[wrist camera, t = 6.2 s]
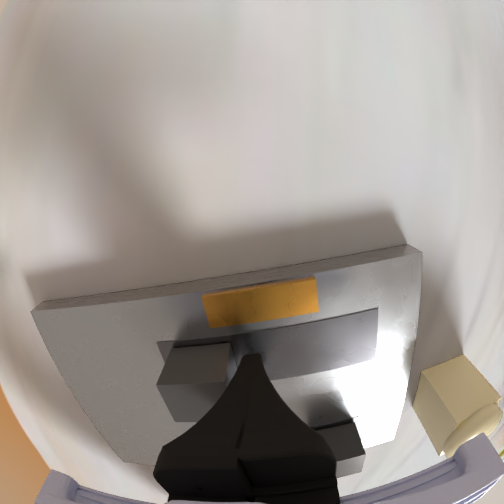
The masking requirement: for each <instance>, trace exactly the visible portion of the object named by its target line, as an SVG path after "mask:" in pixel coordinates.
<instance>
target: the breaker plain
mask: <svg viewBox="0 0 504 504" xmlns="http://www.w3.org/2000/svg"><path fill="white" fill-rule="evenodd" d="M316 432H318V433H319V434H321V435H322V436H323V438H324V439H325V440H326V442H327V443H328V445H329V446H330V448H331V450H332V451H333V453H334V455H335V458H336V461H337V468H336V478H339V477H343V476H347V475H351V474H355V473H359V472H361V471H362V468H363V463H364V459H365V455H366V454H365V451H364V448H363V445H362V442H361V439H360V436H359V433H358V430H357V427H356V424H355V422H353V423H349V424H345V425H340V426H336V427H332V428H327V429H322V430H317V431H316Z"/></svg>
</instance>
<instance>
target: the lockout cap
mask: <svg viewBox="0 0 504 504" xmlns="http://www.w3.org/2000/svg"><path fill="white" fill-rule="evenodd" d="M501 398H502V397H501V396H500V395H499V394H498V392H497V391H496V390H495V389H494V388H493V387H492V385H491V384H490V383H489V382H488V381H487V380H486V379H485V377H484V376H483V375H482V374H481V373H480V372H479V371H478V370H477V368H476V367H475V366H474V365H473V364H472V363H471V362H470V361H469V360H468V359H467V358H466V356H465V355H464V354H462V355H460V356H458V357H456V358H453V359H451V360H448V361H446V362H444V363H441V364H439V365H436V366H433V367H431V368H428V369H426V370H423V371H421V376H420V380H419V384H418V388H417V392H416V396H415V400H414V403H413V409H414V411H415V413H416V414H417V416H418V418H419V420H420V422H421V423H422V425H423V427H424V429H425V431H426V433H427V434H428V436H429V438H430V440H431V442H432V444H433V446H434V448H435V450H436V452H437V453H438V455H439V456H441V455H443V454H445V456H446V457H447V459H448V458H450V457H452V456H453V455H454V453H455V451H456V450H457V448H458V447H459V446H461V445H462V444H463V443H465V442H467V441H468V440H470V439H472V438H474V437H475V436H477V435H479V434H480V433H482V432H484V433H485V435H486V436H487V437H488V436H489V435H490V434H491V433H492V431H493V430H494V429H495V428H496V426H497V425H498V423H499V422H500V420H501V418H502V415H503V412H502V410H501V409H500V408H499V407H498V404H499V402H500V400H501Z"/></svg>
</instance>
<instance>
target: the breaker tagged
mask: <svg viewBox="0 0 504 504" xmlns="http://www.w3.org/2000/svg"><path fill="white" fill-rule="evenodd" d="M236 370H237V366H236V362H235V358H234V355H233V351H232V347H231V343H223V344H214V345H205V346H194V347H183V348H171V350H170V353H169V355H168V357H167V360H166V362H165V364H164V367H163V369H162V372H161V374H160V376H159V379H158V381H157V384H156V386H157V388H158V390H159V392H160V394H161V396H162V398H163V400H164V402H165V404H166V406H167V408H168V410H169V412H170V414H171V415H172V417H173V419H174V421H175V422H198V421H199V420H200V419H201V418H202V417H203V416H204V415H205V414H206V413H207V412H208V411H209V410H210V409H211V408H212V407H213V405H214V404H215V403H216V402H217V400H218V399H219V398H220V396H221V395H222V394H223V392H224V391H225V389H226V388H227V386H228V384H229V383H230V381H231V379H232V378H233V376H234V374H235V372H236Z"/></svg>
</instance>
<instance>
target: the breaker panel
mask: <svg viewBox="0 0 504 504" xmlns="http://www.w3.org/2000/svg"><path fill="white" fill-rule="evenodd" d="M421 279H422V252H421V251H419V250H418V249H416V248H414V247H412V246H410V245H409V244H406V245H401V246H396V247H391V248H385V249H380V250H375V251H369V252H364V253H358V254H353V255H347V256H342V257H336V258H331V259H325V260H319V261H313V262H308V263H302V264H296V265H290V266H284V267H278V268H272V269H266V270H260V271H254V272H248V273H242V274H236V275H229V276H223V277H217V278H210V279H204V280H197V281H191V282H184V283H177V284H170V285H164V286H157V287H150V288H143V289H136V290H128V291H121V292H114V293H106V294H99V295H91V296H84V297H76V298H68V299H60V300H52V301H43V302H42V303H41V304H39V305H38V306H37V307H35V308H34V309H33V310H32V311H30V312H31V314H32V316H33V319H34V321H35V323H36V326H37V328H38V330H39V332H40V334H41V336H42V339H43V341H44V343H45V345H46V347H47V349H48V351H49V353H50V355H51V357H52V358H53V360H54V362H55V364H56V366H57V368H58V369H59V371H60V373H61V375H62V376H63V378H64V380H65V382H66V383H67V385H68V387H69V388H70V390H71V391H72V393H73V395H74V396H75V398H76V399H77V401H78V402H79V404H80V405H81V407H82V408H83V410H84V411H85V413H86V414H87V416H88V417H89V418H90V420H91V421H92V423H93V424H94V425H95V427H96V428H97V429H98V431H99V432H100V433H101V435H102V436H103V437H104V439H105V440H106V441H107V442H108V444H109V445H110V446H111V447H112V449H113V450H114V451H115V452H116V453H117V454H118V456H119V457H120V458H121V459H122V460H123V461H124V462H131V463H137V464H145V465H153V466H155V465H156V461H157V458H158V456H159V453H160V451H161V449H162V446H164V445H166V444H167V443H169V442H171V441H172V440H174V439H176V438H177V437H179V436H180V435H182V434H183V433H185V432H186V431H187V430H188V429H190V428H191V427H192V426H193V425H195V424H196V423H197V422H175V421H174V419H173V417H172V415H171V414H170V412H169V410H168V408H167V406H166V404H165V402H164V400H163V398H162V396H161V394H160V392H159V390H158V388H157V386H156V384H157V381H158V379H159V376H160V374H161V372H162V369H163V367H164V364H165V362H166V360H167V357H168V355H169V353H170V350H171V348H183V347H194V346H205V345H214V344H223V343H231V347H232V351H233V355H234V358H235V362H236V366H237V368H238V366H239V364H240V362H241V359H242V357H243V356H244V355H246V354H254V353H260V354H261V355H262V359H263V364H264V368H265V371H266V373H267V375H268V377H269V379H270V381H271V383H272V385H273V386H274V388H275V389H276V391H277V393H278V394H279V395H280V397H281V398H282V399H283V401H284V402H285V403H286V404H287V406H288V407H289V408H290V409H291V410H292V411H293V412H294V413H295V414H296V415H297V416H298V417H299V418H300V419H301V420H302V421H303V422H305V423H306V424H307V425H308V426H309V427H311V428H312V429H313V430H315V431H317V430H322V429H327V428H332V427H336V426H340V425H345V424H349V423H353V422H355V424H356V427H357V430H358V433H359V436H360V439H361V442H362V445H363V448H367V447H370V446H374V445H377V444H380V443H383V442H386V441H390V440H392V439H394V435H395V432H396V429H397V425H398V422H399V418H400V414H401V411H402V407H403V403H404V399H405V394H406V390H407V385H408V381H409V376H410V371H411V365H412V360H413V354H414V348H415V341H416V334H417V326H418V317H419V307H420V295H421Z"/></svg>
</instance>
